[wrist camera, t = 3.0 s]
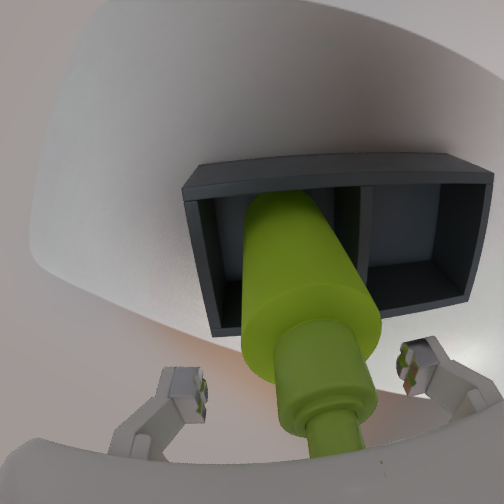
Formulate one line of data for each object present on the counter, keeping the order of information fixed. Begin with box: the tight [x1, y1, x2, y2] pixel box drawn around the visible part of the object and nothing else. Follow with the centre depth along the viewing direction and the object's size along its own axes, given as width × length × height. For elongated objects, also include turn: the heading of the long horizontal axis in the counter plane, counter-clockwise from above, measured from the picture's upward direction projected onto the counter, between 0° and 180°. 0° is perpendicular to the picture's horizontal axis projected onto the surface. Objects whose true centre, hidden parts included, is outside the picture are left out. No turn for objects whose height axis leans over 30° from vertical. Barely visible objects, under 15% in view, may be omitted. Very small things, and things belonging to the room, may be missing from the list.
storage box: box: [181, 152, 494, 337], centre depth 21 cm, size 11×20×6 cm, turn 96°
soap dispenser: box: [241, 190, 386, 477], centre depth 15 cm, size 6×7×20 cm
